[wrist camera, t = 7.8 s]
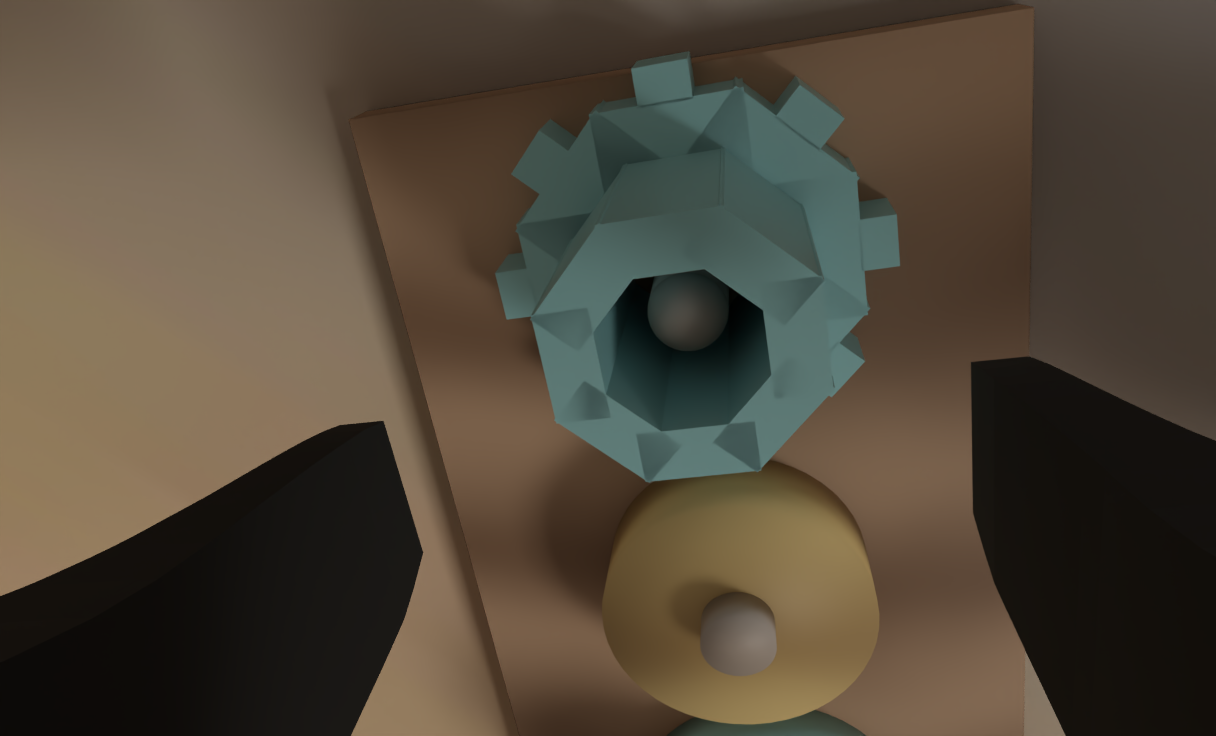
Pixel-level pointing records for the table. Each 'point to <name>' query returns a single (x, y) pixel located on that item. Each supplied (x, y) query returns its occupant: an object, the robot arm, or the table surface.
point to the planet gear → (695, 268)
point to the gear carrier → (796, 474)
